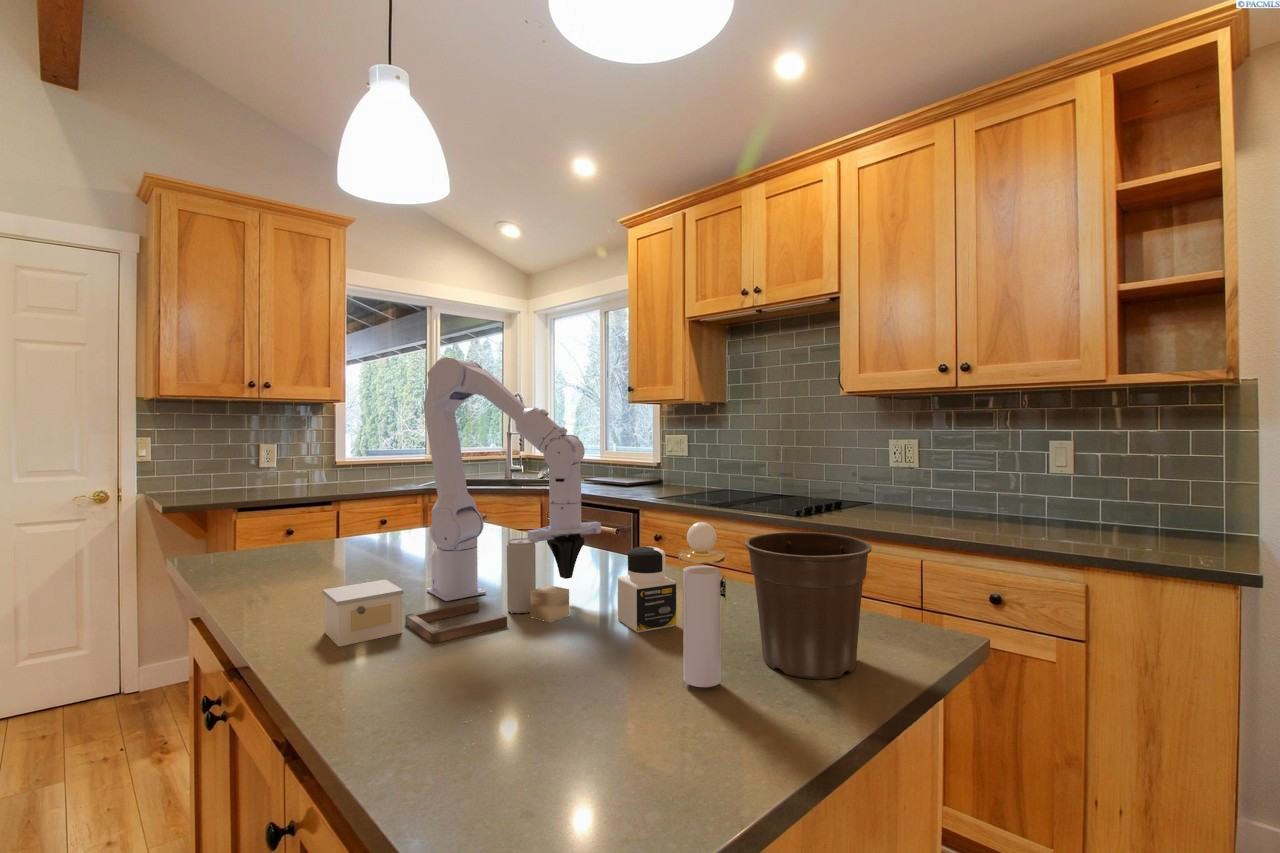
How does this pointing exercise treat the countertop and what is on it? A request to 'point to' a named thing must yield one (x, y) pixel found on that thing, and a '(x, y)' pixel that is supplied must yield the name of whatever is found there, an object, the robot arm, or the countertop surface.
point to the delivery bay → (434, 636)
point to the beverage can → (520, 574)
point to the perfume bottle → (702, 608)
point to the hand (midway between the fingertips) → (566, 577)
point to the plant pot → (809, 600)
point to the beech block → (549, 603)
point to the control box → (362, 612)
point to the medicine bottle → (646, 592)
